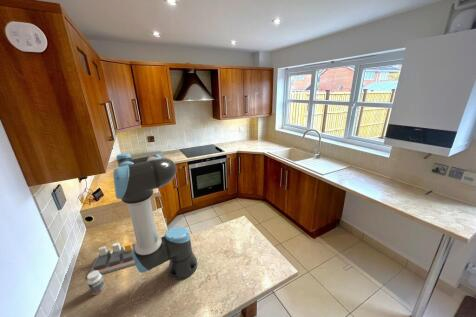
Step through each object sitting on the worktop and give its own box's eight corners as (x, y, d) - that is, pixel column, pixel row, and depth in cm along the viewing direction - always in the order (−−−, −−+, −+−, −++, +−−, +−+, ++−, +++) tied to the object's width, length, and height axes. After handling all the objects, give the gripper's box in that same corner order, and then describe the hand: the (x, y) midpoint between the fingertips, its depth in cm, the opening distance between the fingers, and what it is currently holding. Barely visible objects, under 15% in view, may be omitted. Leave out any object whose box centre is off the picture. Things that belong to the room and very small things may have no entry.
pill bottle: (90, 290, 94) (84, 274, 91) (104, 282, 98) (98, 267, 95) (92, 297, 90) (86, 281, 87) (106, 289, 94) (101, 273, 91)
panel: (138, 263, 108) (135, 251, 106) (88, 278, 101) (83, 265, 98) (141, 245, 123) (139, 234, 120) (98, 256, 115) (94, 245, 113)
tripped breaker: (132, 251, 112) (130, 244, 111) (125, 252, 111) (124, 246, 110) (132, 248, 114) (131, 242, 113) (126, 249, 113) (125, 243, 112)
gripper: (139, 182, 110) (147, 214, 116) (132, 171, 129) (138, 199, 135) (125, 185, 105) (133, 219, 111) (119, 174, 125) (126, 203, 131)
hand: (136, 208), depth 123 cm, fingers open, 13 cm apart
